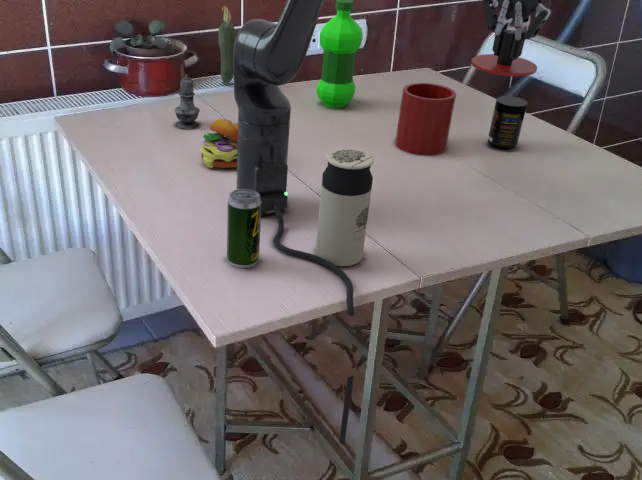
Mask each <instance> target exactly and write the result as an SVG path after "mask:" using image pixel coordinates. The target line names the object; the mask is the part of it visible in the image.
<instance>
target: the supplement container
mask: <svg viewBox="0 0 642 480" xmlns="http://www.w3.org/2000/svg"><path fill="white" fill-rule="evenodd" d="M527 107H528V101H527V100H526V99H524V98H521V97H517V96H511V95H501V96H498V97H496V98H495V104H494V108H493V112H492V117H491V121H490V126H489V131H488V136H487V140H486V141H487V142H486V143H487V145H488V147H490V148H493V149H495V150H498V151H512V150H515V149H516V148H517V146H518V143H519V138H520V136H521V132H522V131H521V130H522V127H523V123H524V119H525V115H526V111H527Z"/></svg>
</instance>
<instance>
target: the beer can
mask: <svg viewBox="0 0 642 480" xmlns="http://www.w3.org/2000/svg"><path fill="white" fill-rule="evenodd" d="M261 221H262V216H261V199H260V194H259V193H258V192H256V191H254V190H251V189H237V188H236V189H234V190H233V191H230V193H229V197H228V199H227V221H226V223H227V225H226V226H227V229H226V231H227V232H226V259H227V261H228V263H229V265H231V266H232V267H235V268H239V269H248V268H249V269H250V268H252V267H255V265H256V264H257V263H258V261H259V260H260V245H261V244H260V243H261V223H262V222H261Z"/></svg>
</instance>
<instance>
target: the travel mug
mask: <svg viewBox="0 0 642 480" xmlns="http://www.w3.org/2000/svg"><path fill="white" fill-rule="evenodd" d="M325 159H326V161H327V166H326V168H325V169H324V171H323V172H322V177H321V178H322V179H321V187H320V188H321V189H320V199H319V210H318V211H319V212H318V220H317V221H318V222H317V234H316V242H315V243H316V244H315V255H316V256H318V257H320V258H322V259H324V260H326V261H328V262H330V263H332V264H334V265H335V266H337V267H349V266H353V265H356V264H359V263H360V262H361V261H362V259H363V256H364V248H365V242H366V233H367V225H368V218H369V212H370V211H369V210H370V203H371V196H372V190H373V189H372V188H373V180H374V177H373V174H372V172H371V167H372V165H373V163H374V161H375V159H374V156H373V155H372V154H370V152H367V151H365V150H362V149H359V148H353V147H352V148H351V147H339V148H333V149H331V150H329V151H328V152H327V153H326V154H325Z"/></svg>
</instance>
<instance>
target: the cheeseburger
mask: <svg viewBox="0 0 642 480" xmlns="http://www.w3.org/2000/svg"><path fill="white" fill-rule="evenodd" d="M209 130H210V131H212V133H211V132H207V133H206V134H203V136H202V137H203V139H204V140H203V142H202V146H201V148H200V152H201V153H200V154H201V159H202V162H203V164H204V165H205V167H206V168H208V169H213V168H223V169H224V168H226V169H227V168H237V147H238V122H237V123H233V122H232V121H230V120H229V119H226V118H221V117H219V118H217V119H215V120H214V121H213V122H212V123H211V124H210V126H209Z"/></svg>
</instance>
